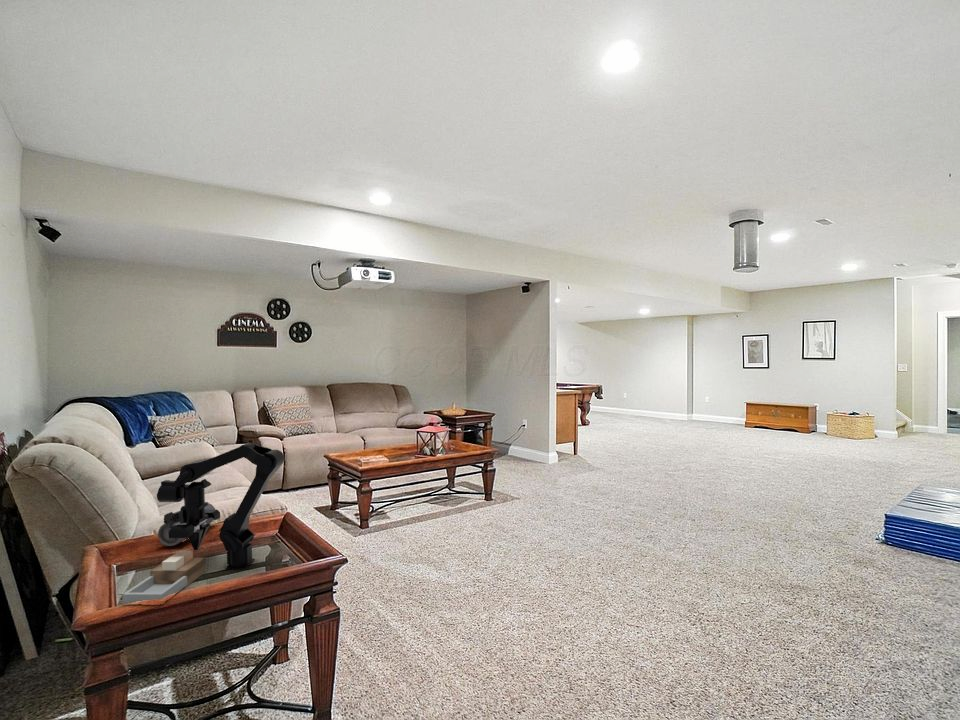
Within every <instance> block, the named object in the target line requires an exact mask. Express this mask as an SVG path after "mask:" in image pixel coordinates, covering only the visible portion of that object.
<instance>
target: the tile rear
mask: <svg viewBox="0 0 960 720" xmlns="http://www.w3.org/2000/svg"><path fill="white" fill-rule="evenodd" d="M193 551H194V550H179V551H178V552H175V553H174V554H173V555H171V556H184V564H186V563H187V562H189V561H190V560H192V559H193V558H194V552H193Z"/></svg>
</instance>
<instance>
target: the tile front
mask: <svg viewBox="0 0 960 720" xmlns="http://www.w3.org/2000/svg"><path fill="white" fill-rule="evenodd" d="M161 564H162V571H163V570H177V569H179V568H180V567H181V566H183V565H184V556H172V555H171V556H169V557H168V558H166V559H164V560H163V561H162V562H161Z"/></svg>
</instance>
